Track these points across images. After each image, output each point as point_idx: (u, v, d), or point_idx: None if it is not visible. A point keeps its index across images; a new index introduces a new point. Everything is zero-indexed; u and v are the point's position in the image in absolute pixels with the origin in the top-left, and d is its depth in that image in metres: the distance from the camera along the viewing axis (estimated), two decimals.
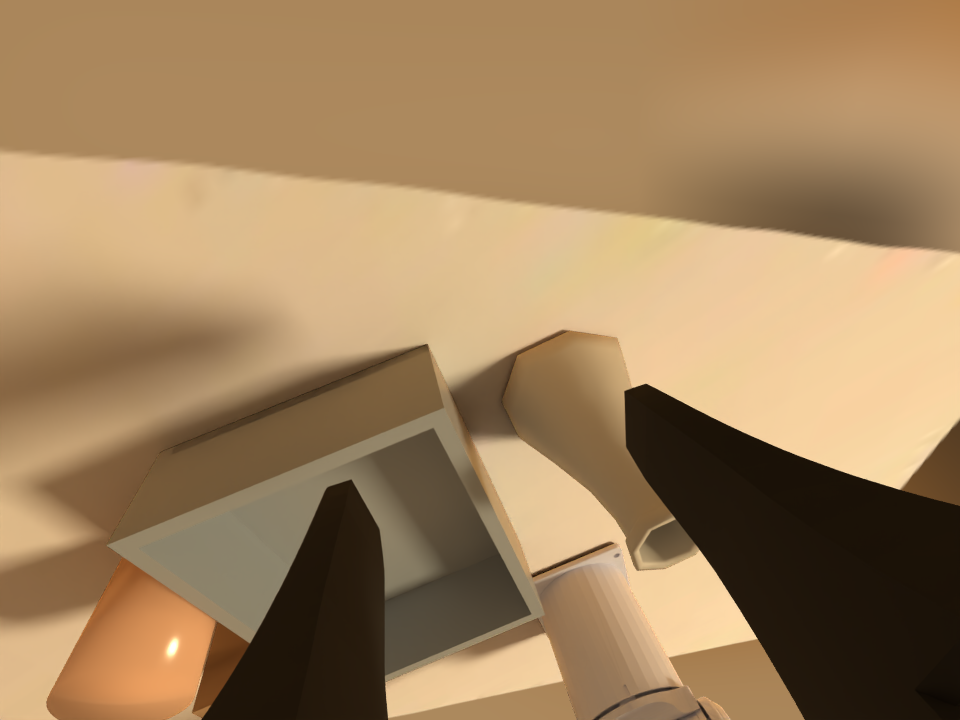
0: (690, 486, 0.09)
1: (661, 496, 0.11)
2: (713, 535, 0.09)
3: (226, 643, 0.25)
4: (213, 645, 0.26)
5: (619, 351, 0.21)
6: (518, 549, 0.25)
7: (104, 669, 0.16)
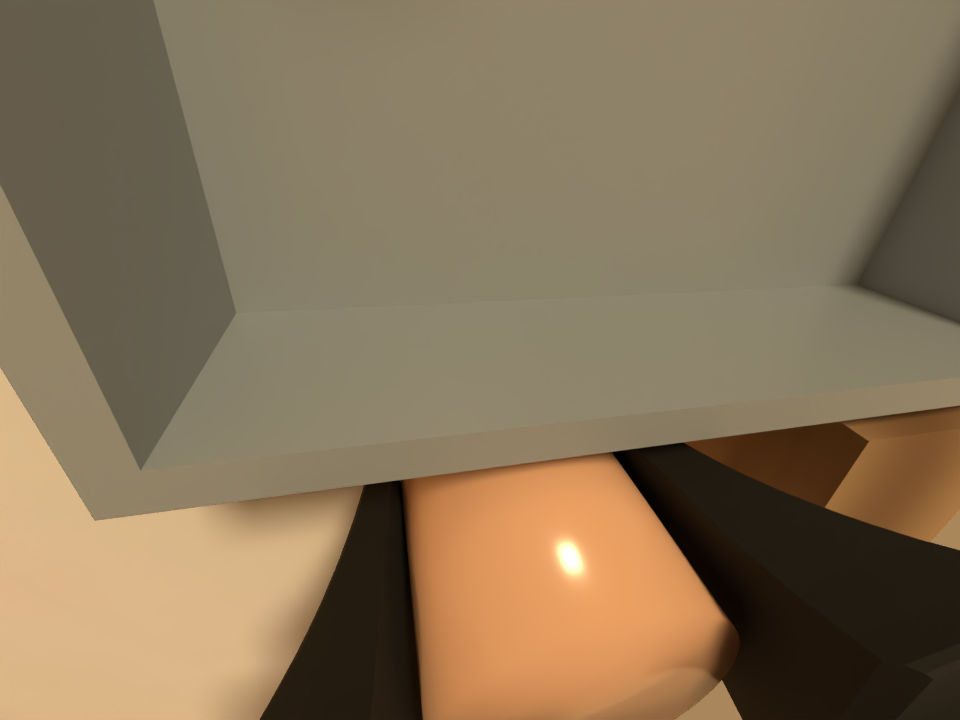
0: None
1: None
2: None
3: None
4: None
5: None
6: None
7: (445, 717, 0.06)
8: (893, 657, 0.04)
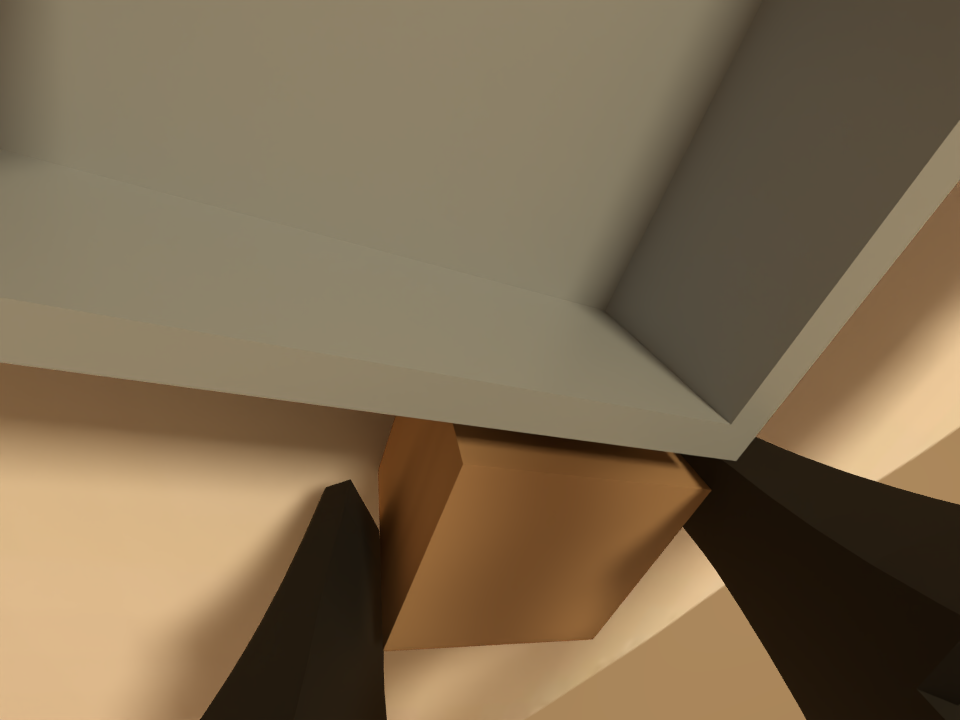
0: None
1: None
2: (714, 535, 0.09)
3: (389, 491, 0.11)
4: (380, 509, 0.11)
5: None
6: None
7: None
8: None
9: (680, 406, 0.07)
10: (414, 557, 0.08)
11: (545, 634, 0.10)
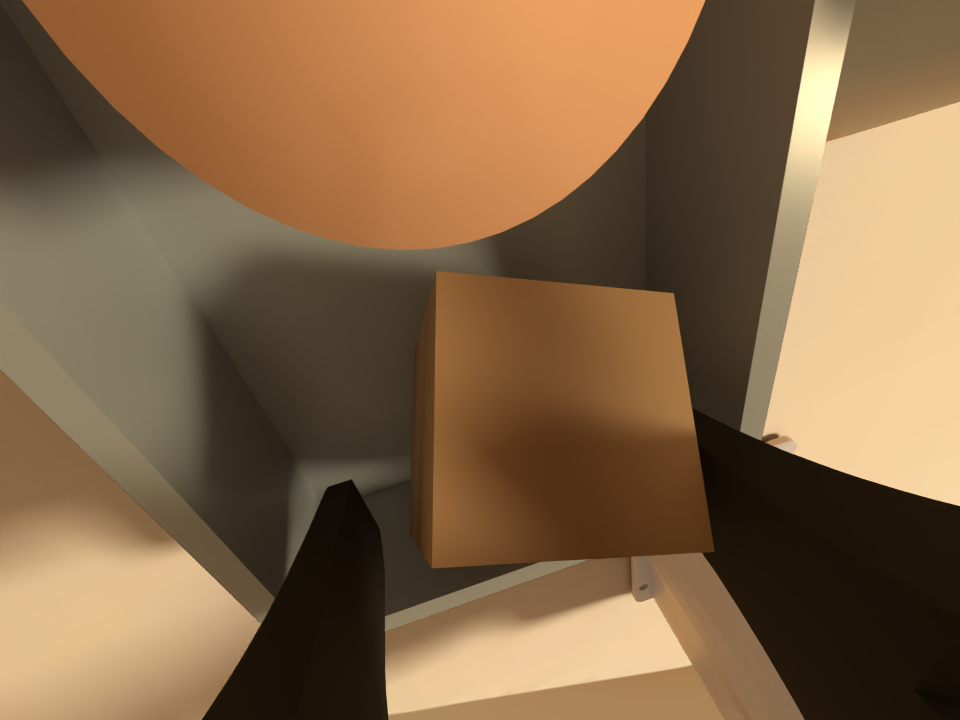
0: None
1: None
2: (713, 535, 0.09)
3: (416, 492, 0.10)
4: (414, 533, 0.10)
5: None
6: None
7: None
8: None
9: None
10: (432, 410, 0.07)
11: (640, 536, 0.07)
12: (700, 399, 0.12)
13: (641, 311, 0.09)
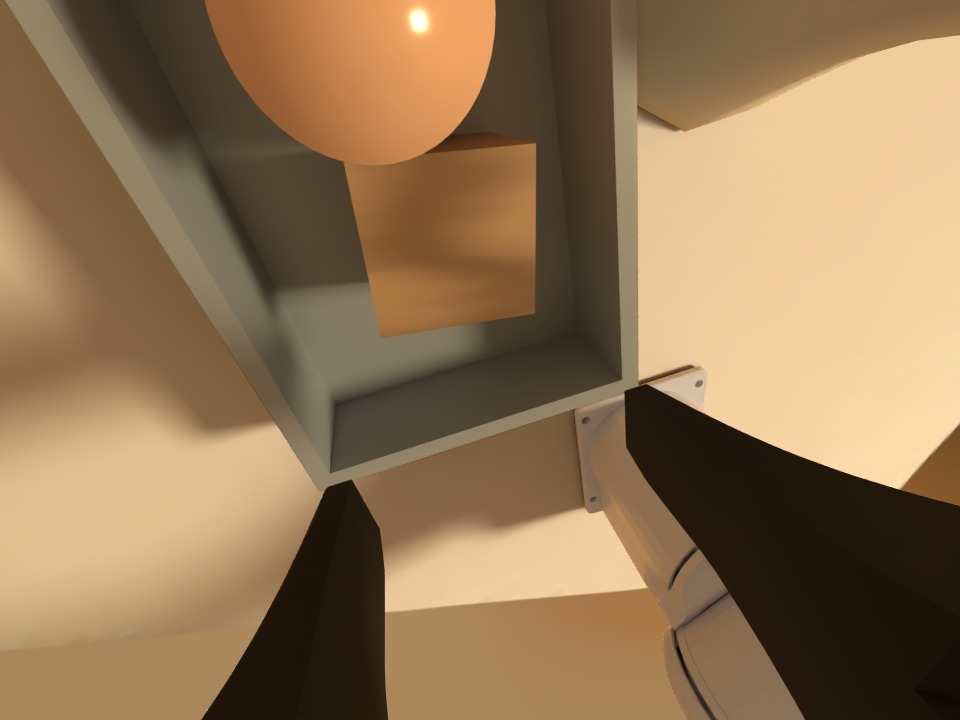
0: (690, 486, 0.09)
1: (661, 496, 0.11)
2: (713, 535, 0.09)
3: None
4: (370, 285, 0.12)
5: None
6: None
7: None
8: None
9: (321, 453, 0.16)
10: None
11: (481, 147, 0.11)
12: (601, 311, 0.17)
13: (470, 134, 0.15)
